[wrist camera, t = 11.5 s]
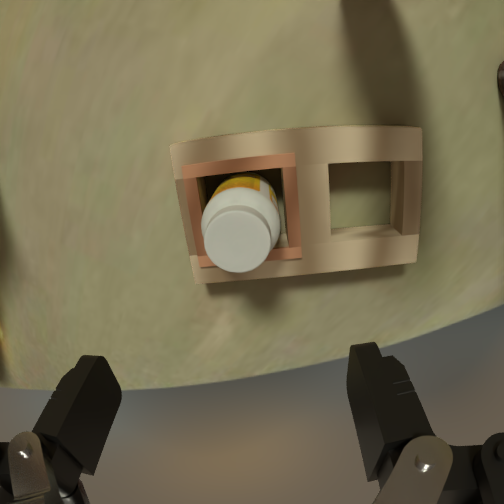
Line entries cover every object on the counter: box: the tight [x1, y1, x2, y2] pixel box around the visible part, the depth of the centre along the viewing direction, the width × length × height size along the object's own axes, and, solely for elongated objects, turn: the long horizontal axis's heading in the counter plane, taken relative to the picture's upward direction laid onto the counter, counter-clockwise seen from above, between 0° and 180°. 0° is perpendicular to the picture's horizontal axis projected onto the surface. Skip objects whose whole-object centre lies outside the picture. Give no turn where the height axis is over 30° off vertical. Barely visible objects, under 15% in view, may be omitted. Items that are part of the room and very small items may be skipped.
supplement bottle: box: [201, 172, 280, 273], centre depth 23 cm, size 5×5×10 cm
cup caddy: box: [169, 125, 423, 284], centre depth 26 cm, size 20×12×3 cm, turn 96°
